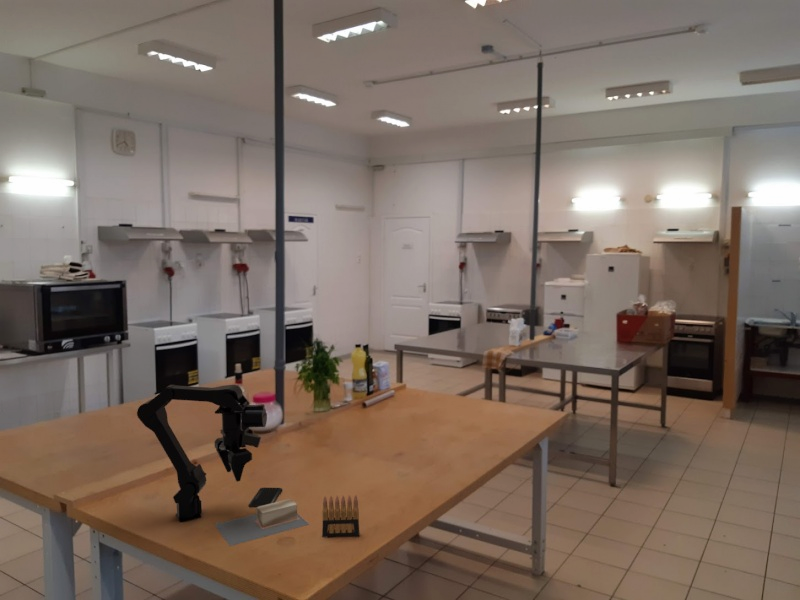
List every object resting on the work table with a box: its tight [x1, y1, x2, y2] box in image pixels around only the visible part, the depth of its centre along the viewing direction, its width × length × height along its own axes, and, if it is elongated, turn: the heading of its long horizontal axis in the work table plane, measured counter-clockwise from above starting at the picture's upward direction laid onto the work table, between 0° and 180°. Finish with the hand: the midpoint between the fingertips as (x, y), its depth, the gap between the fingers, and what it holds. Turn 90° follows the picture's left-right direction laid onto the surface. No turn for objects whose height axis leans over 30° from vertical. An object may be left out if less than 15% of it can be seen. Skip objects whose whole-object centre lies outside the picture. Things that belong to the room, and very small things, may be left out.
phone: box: [248, 487, 283, 508], centre depth 202 cm, size 8×1×15 cm
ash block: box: [256, 498, 298, 527], centre depth 185 cm, size 5×11×4 cm, turn 123°
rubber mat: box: [213, 513, 310, 547], centre depth 182 cm, size 24×16×1 cm, turn 123°
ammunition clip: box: [321, 494, 360, 539], centre depth 175 cm, size 11×2×12 cm, turn 93°
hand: (233, 476), depth 187 cm, fingers open, 9 cm apart
